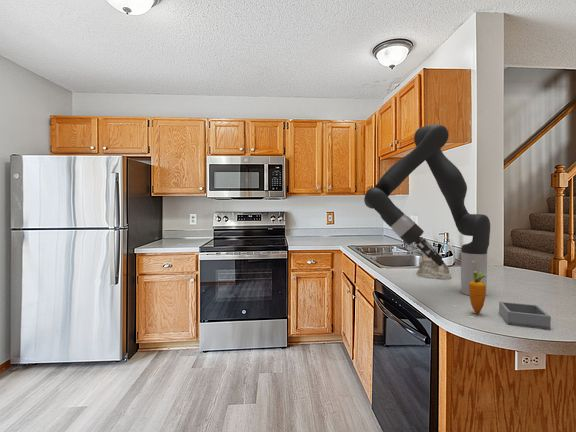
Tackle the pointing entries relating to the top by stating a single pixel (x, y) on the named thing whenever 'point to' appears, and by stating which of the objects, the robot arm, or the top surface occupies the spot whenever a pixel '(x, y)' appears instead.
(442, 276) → the ceramic cottage
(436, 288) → the top surface
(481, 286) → the carrot
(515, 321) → the bin
